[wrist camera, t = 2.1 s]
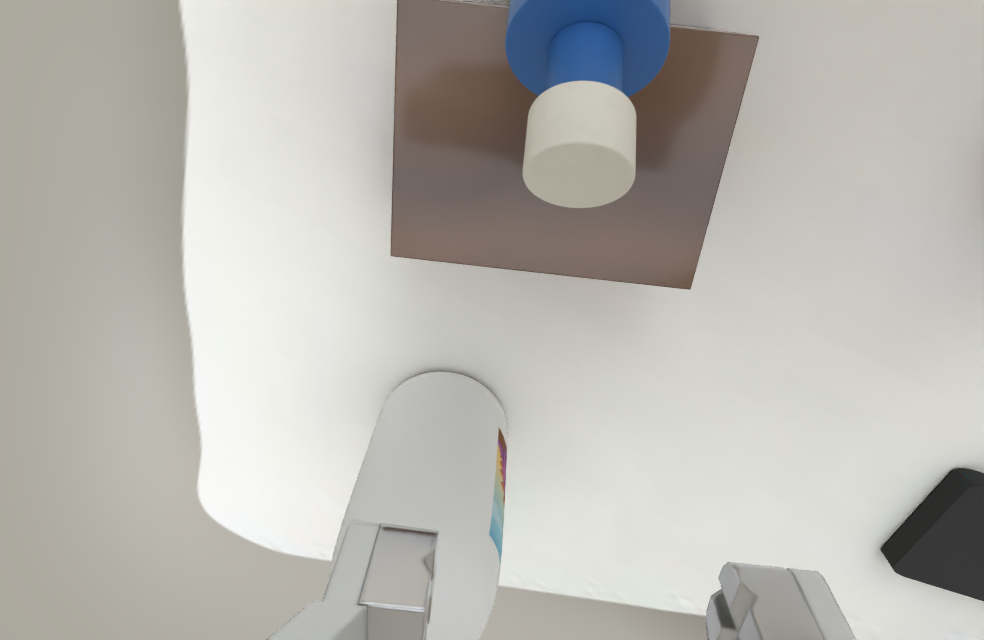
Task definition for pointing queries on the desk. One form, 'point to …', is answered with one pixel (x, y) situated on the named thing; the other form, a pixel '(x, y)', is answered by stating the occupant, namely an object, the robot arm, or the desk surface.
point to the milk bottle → (441, 490)
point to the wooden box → (501, 145)
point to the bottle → (584, 91)
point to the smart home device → (945, 537)
